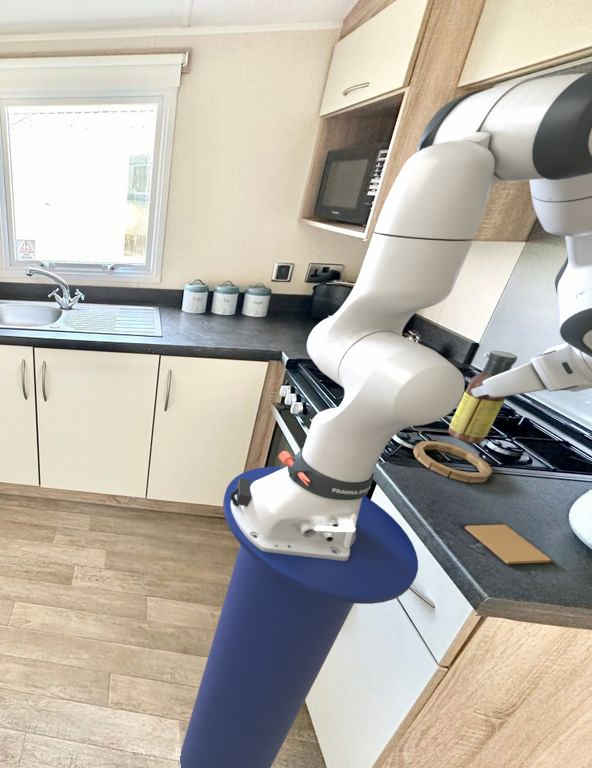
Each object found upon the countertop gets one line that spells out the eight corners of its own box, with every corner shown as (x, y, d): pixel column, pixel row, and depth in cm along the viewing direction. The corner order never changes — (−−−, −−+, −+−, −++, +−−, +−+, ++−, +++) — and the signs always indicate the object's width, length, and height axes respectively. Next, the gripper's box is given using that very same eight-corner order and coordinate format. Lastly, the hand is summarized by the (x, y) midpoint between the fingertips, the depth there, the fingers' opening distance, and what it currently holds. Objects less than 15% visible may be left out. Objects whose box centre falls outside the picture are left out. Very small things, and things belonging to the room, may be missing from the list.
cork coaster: (507, 564, 69) (509, 561, 69) (464, 528, 76) (465, 525, 76) (550, 562, 70) (551, 559, 70) (503, 526, 77) (505, 524, 77)
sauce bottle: (486, 439, 90) (534, 356, 82) (477, 448, 87) (526, 362, 78) (449, 426, 95) (491, 346, 86) (440, 433, 92) (482, 351, 83)
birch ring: (447, 483, 88) (451, 477, 87) (399, 446, 100) (402, 441, 99) (504, 481, 89) (508, 475, 88) (450, 445, 101) (453, 440, 100)
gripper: (590, 344, 79) (502, 370, 91) (536, 356, 71) (448, 383, 84) (610, 374, 77) (517, 396, 89) (556, 390, 70) (463, 412, 82)
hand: (483, 390), depth 87 cm, fingers closed on sauce bottle, 6 cm apart
